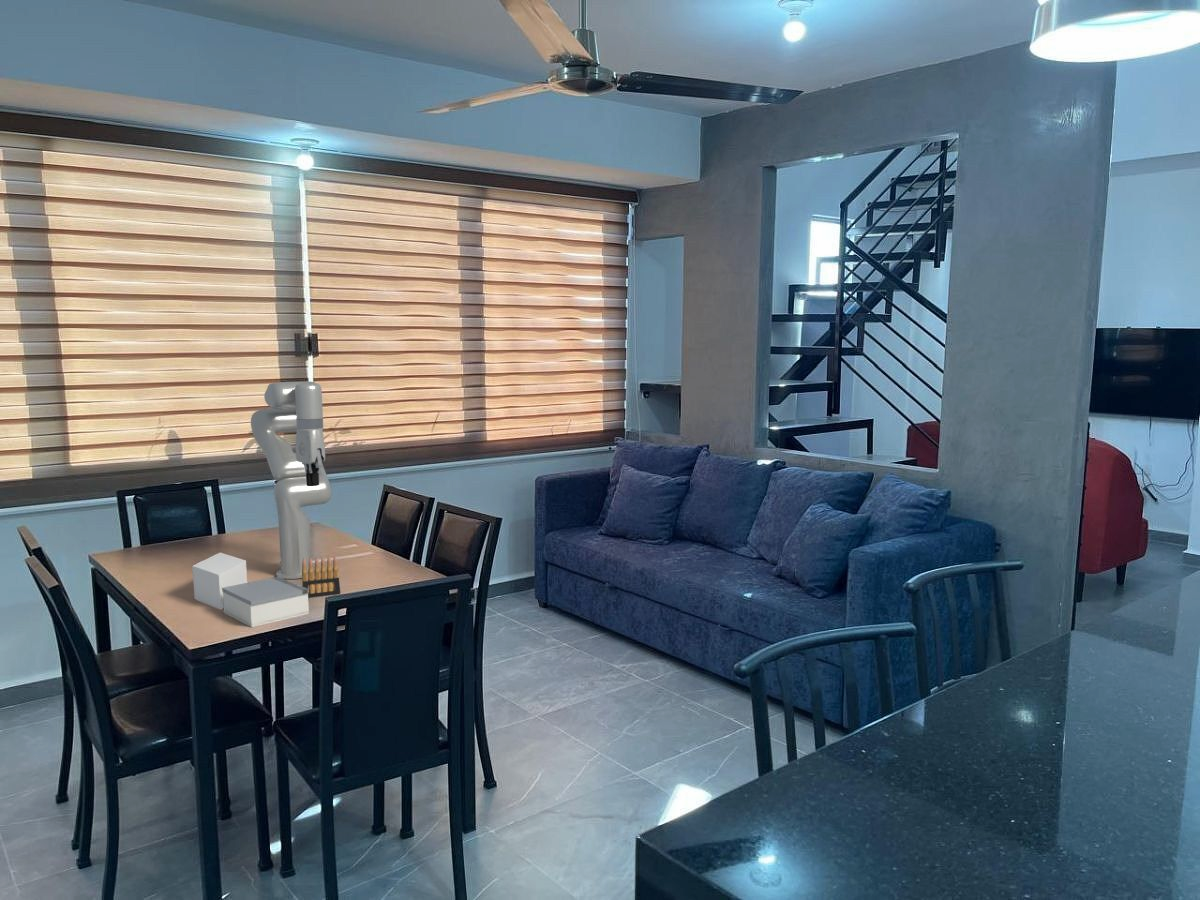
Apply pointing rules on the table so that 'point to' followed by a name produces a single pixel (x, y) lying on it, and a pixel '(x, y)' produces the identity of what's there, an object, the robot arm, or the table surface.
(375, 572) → the table surface
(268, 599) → the lid
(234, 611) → the box
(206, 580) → the white rectangular block
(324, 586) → the ammunition clip
